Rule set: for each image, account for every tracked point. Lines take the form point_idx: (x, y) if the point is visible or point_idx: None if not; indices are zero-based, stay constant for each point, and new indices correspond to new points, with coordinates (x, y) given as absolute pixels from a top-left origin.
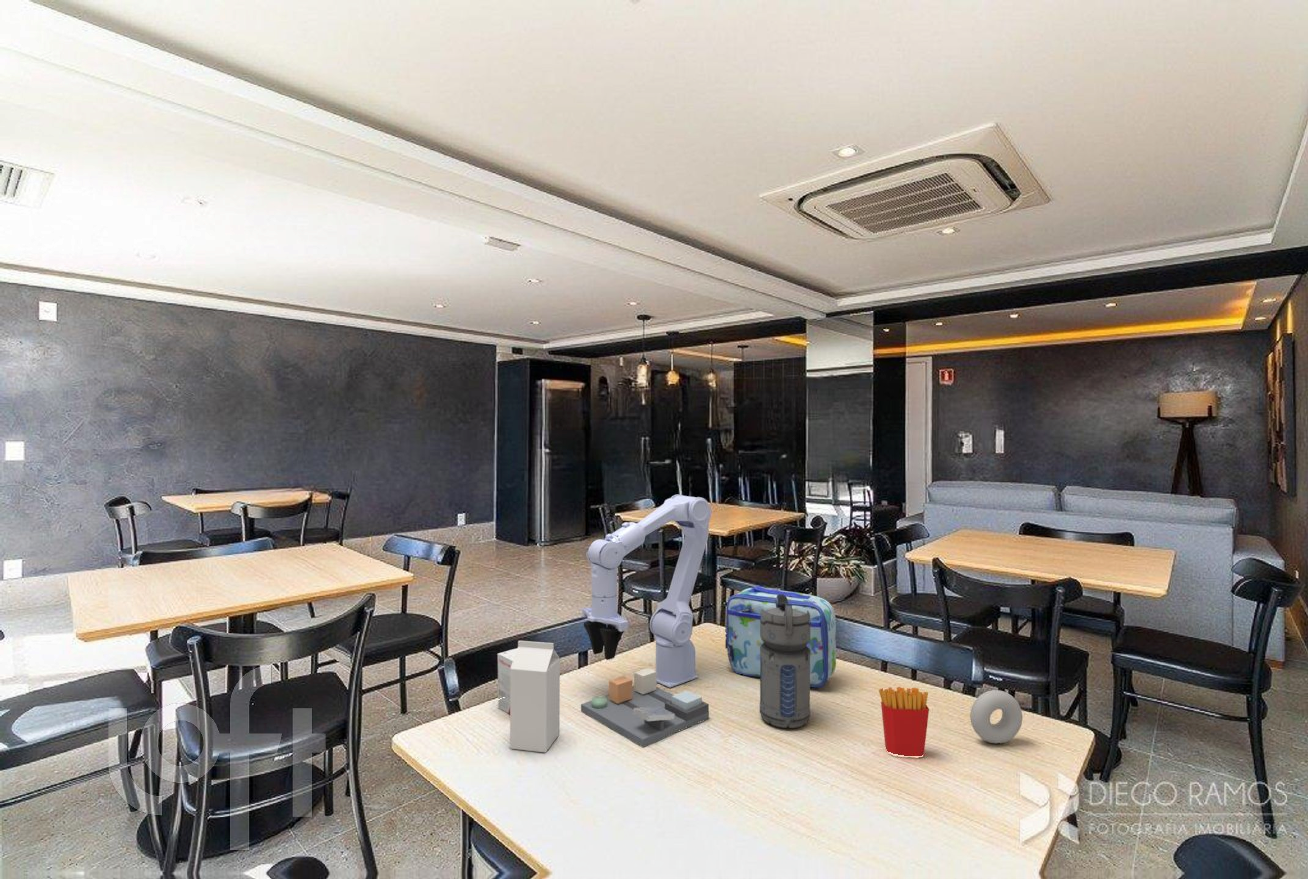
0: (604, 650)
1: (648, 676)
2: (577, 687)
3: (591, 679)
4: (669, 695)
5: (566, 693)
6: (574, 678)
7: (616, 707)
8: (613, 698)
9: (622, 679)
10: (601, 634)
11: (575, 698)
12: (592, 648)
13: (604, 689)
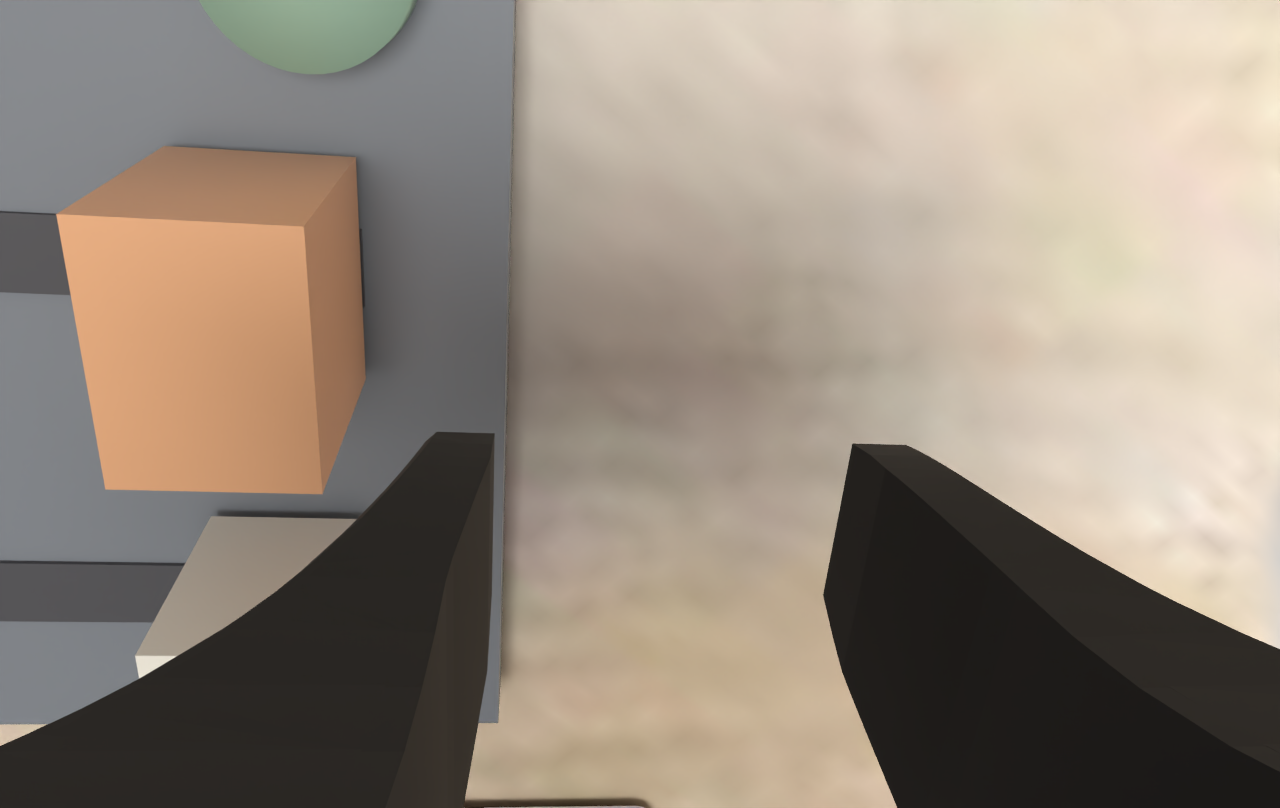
0: (461, 500)
1: None
2: (1052, 224)
3: (1063, 455)
4: (56, 689)
5: (1048, 19)
6: (1236, 348)
7: (120, 85)
8: (245, 159)
9: (210, 400)
10: (398, 760)
11: (859, 6)
12: (953, 477)
13: (779, 399)
